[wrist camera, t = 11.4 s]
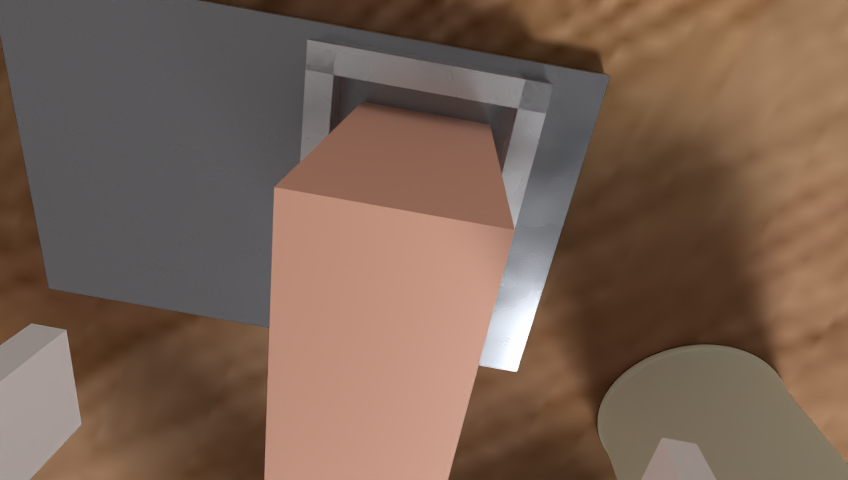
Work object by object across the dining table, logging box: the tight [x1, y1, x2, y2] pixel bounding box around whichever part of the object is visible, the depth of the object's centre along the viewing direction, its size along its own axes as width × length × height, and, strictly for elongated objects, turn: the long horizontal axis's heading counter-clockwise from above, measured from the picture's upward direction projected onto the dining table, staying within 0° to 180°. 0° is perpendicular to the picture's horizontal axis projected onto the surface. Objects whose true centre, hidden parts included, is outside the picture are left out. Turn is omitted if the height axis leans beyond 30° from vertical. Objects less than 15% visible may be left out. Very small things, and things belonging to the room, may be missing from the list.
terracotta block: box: [264, 102, 515, 480], centre depth 17 cm, size 9×5×10 cm, turn 171°
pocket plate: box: [0, 0, 610, 372], centre depth 21 cm, size 23×14×2 cm, turn 81°
